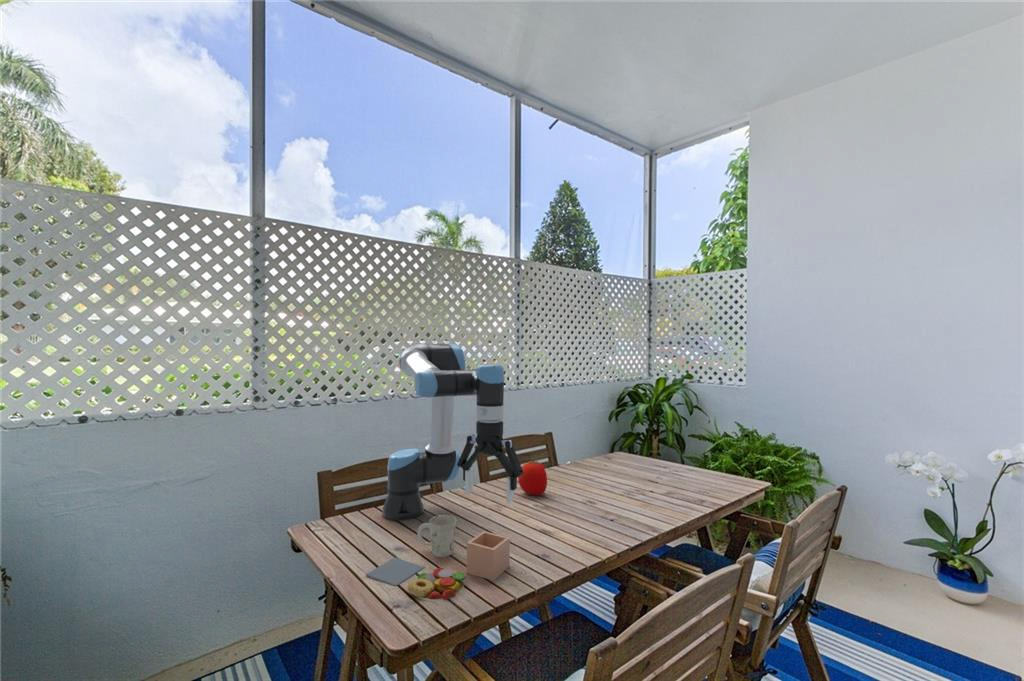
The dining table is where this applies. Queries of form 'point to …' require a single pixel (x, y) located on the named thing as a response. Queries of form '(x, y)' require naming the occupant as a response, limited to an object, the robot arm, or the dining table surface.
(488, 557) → the planter
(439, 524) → the mug
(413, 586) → the toy food set
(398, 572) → the coaster
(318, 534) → the dining table surface
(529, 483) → the tomato
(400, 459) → the robot arm
